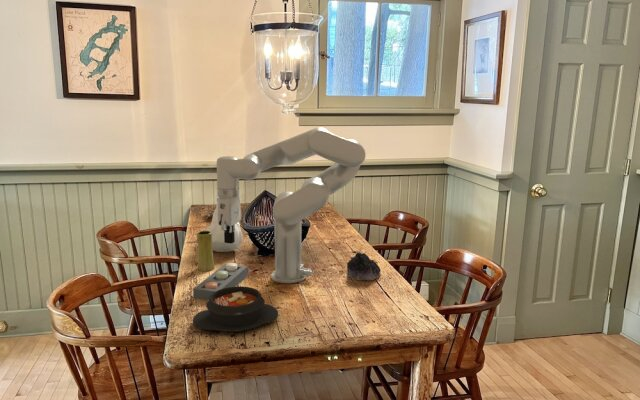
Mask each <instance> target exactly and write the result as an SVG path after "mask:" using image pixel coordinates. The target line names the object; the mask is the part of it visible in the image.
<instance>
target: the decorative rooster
mask: <svg viewBox="0 0 640 400" xmlns="http://www.w3.org/2000/svg"><path fill="white" fill-rule="evenodd" d="M204 231H210V232H211V233H212V251H214V252H217V253H229V252H230V253H231V252H233V251H234V250H237V249H238V248H239V247H240V246H241V245H242V242H243V232H242V229H241V225H240V221H239V222H238V223H236V224H235V231H233V232H234V237H235V242H234V243H225V242H224V231H223V230H221V225H219V224H218V201H217V200H216V206H215V209H214V211H213V214H212V219H211V223H210V225H209V226H207V227H206V229H204Z"/></svg>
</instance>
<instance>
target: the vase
mask: <svg viewBox="0 0 640 400" xmlns="http://www.w3.org/2000/svg"><path fill="white" fill-rule="evenodd" d="M196 235H197V237H196V238H197V239H196V240H197V270H199V271H201V272H209V271H213V270H214V269H215V263H214V261H215V260H214V253H213V250H212V233H211V232H210V231H205V230H200V231H197V233H196Z"/></svg>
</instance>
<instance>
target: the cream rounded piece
mask: <svg viewBox="0 0 640 400" xmlns="http://www.w3.org/2000/svg"><path fill="white" fill-rule="evenodd" d="M225 264H226V271H231V272H236V271H237V265H238V264H237V263H235V262H229V263H225Z"/></svg>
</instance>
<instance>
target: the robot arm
mask: <svg viewBox="0 0 640 400" xmlns="http://www.w3.org/2000/svg"><path fill="white" fill-rule="evenodd" d="M314 156H318V157H321V158H323V159H325V160H328V161H331V162H333V164H332V165H331V166H330V167H328V168H327V167H326V169H325V170H323V171H320V172H319V173H317V174H316V175H313V176H312V177H310V178H308V179H306V180H305V181H303V183H302V185H301V187H300V188H299V189H297V190H296V191H294V192H293V191H290V190H289V191H288V190H286V191H282V192H281V193H279V194H278V195H277V196H276V197H275V198H274V202H273V209H272V214H273V218H274V262H275V263H274V264H275V265H274V266H275V268H274V270H273V271H272V273H270V278H271V280H272V281H274V282H276V283H280V284H294V283H295V284H296V283H299V282H302V281H303V280H305V278H307V277H312V276H313V270H312V268H306V267H305V264H304V263H302V221H303V220H305V219H306V218H309V217H310V216H312V215H313V214H315V213H317V212H318V211H320V210H321V209H322V208H324V207H325V206H326V205H327V204H328V202H329V198H330V197H331V196H332V195H333V194H335V193H336V192H338V191H339V190H341V189H342V188H344V187H347V185H348V184H350V183H351V182H352V181H353V180H354V179H355V177H356V176H357V175H358V172H359V171H360V167H361V165H362V164H363V163H364V162H365V160H366V149H365V148H364V147H363V145H362V144H361V143H360V142H359V141H357V139H353V138H350V139H346V138H344V137H342V136H339V135H336V134H334V133H332V132H330V131H329V130H328V129H326V128H324V127H315V128H313V129H310V130H307V131H305V132H303V133H300V134H296V135H295V136H293V137H289V138H288V139H284V140H282V141H280V142H277V143H274V144H272V145H270V146H269V145H268V146H267V147H264V148H261V149H259V150H257V151H254V152H251V153H249V154H247V155H245V156H244V157H243V158H237V157H236V156H228V155H227V156H219V157H218V158H217V160H216V185H217V186H216V187H217V188H216V189H217V190H216V191H217V194H216V195H217V196H218V197H219V199H218V224H219V225H221V230H223V231H224V242H225V243H234V242H235V237H234V232H233V231H235V224H236V223H238V222H239V223H240V221H241V220H242V207H241V200H240V180H247V181H248V180H249V181H250V180H252V181H253V180H255V179H256V178H258V176H259V175H260V173H261V172H263V171H267V170H269V169H272V168H275V167H277V166H283V165H284V166H285V165H287V166H289V165H293V164H296V163H297V162H298V163H299V162H301V161H303V160H307V159H308V158H311V157H314ZM217 196H216V197H217Z"/></svg>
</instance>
